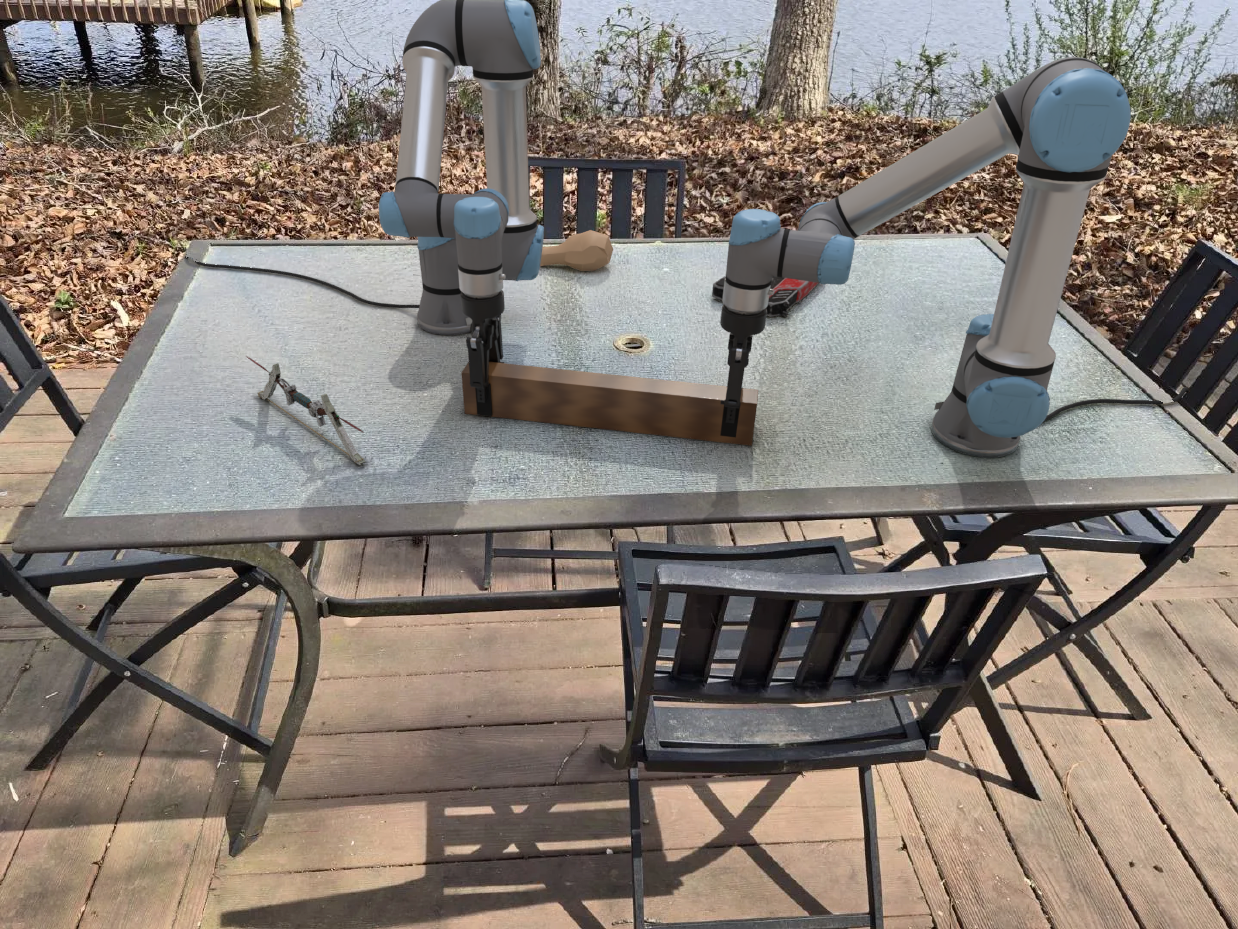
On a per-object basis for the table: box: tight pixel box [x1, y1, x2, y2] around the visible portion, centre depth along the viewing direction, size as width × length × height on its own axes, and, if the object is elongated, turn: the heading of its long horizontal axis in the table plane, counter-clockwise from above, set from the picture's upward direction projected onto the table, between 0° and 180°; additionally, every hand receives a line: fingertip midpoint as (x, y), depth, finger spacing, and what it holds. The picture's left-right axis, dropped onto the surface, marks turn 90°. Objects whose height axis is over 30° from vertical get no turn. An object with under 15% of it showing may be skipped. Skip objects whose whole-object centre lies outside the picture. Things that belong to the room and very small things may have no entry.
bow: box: [245, 355, 367, 466], centre depth 155 cm, size 39×2×10 cm, turn 47°
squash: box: [540, 229, 614, 272], centre depth 224 cm, size 11×20×9 cm, turn 90°
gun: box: [711, 275, 819, 318], centre depth 215 cm, size 4×31×19 cm
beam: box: [460, 361, 759, 447], centre depth 160 cm, size 54×5×9 cm, turn 80°
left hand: (489, 406), depth 165 cm, fingers closed on beam, 5 cm apart
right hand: (730, 416), depth 157 cm, fingers open, 13 cm apart
